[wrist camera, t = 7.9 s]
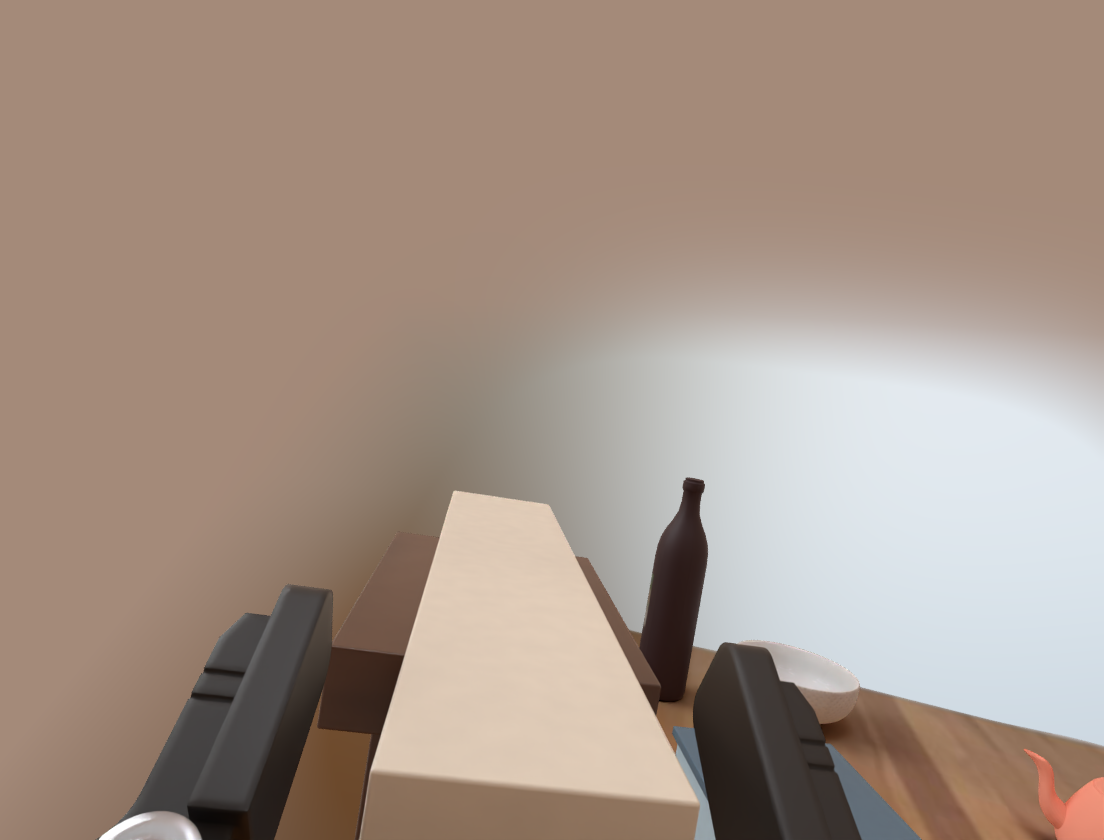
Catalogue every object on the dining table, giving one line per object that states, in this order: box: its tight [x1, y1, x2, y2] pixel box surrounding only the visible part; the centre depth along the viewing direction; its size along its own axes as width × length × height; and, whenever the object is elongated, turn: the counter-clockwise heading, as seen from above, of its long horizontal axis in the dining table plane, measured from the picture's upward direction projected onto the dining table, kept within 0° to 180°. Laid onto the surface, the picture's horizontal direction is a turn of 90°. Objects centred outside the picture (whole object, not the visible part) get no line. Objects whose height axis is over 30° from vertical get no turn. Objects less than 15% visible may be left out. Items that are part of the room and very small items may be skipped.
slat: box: [359, 491, 700, 840], centre depth 18 cm, size 4×20×2 cm, turn 6°
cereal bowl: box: [738, 640, 860, 724], centre depth 94 cm, size 17×17×7 cm
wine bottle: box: [639, 478, 708, 701], centre depth 93 cm, size 7×7×30 cm
